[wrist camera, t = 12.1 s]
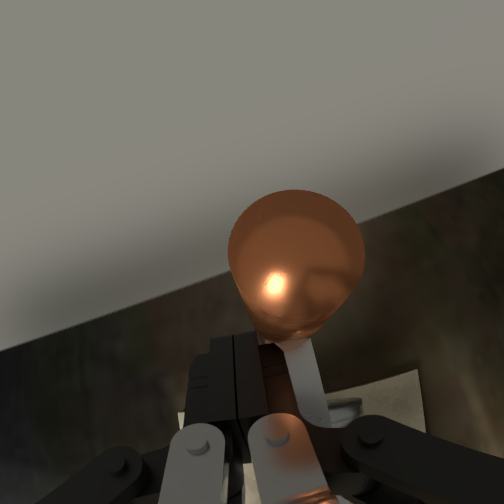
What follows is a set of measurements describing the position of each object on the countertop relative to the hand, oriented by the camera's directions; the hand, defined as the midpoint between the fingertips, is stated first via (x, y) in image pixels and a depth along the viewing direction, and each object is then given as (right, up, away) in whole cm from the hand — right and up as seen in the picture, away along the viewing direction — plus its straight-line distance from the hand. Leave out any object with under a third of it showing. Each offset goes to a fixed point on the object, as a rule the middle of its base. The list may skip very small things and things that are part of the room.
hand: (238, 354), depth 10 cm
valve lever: (+3, -6, +1) cm, 7 cm away
